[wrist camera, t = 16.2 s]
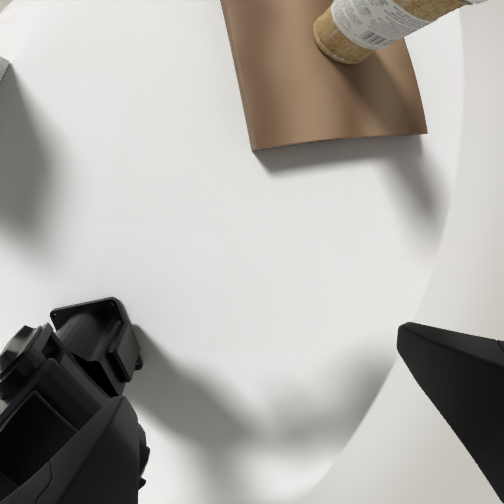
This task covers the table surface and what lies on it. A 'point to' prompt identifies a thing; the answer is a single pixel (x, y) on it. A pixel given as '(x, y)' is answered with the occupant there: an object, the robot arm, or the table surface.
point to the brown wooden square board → (315, 79)
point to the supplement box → (3, 67)
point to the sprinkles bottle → (374, 24)
